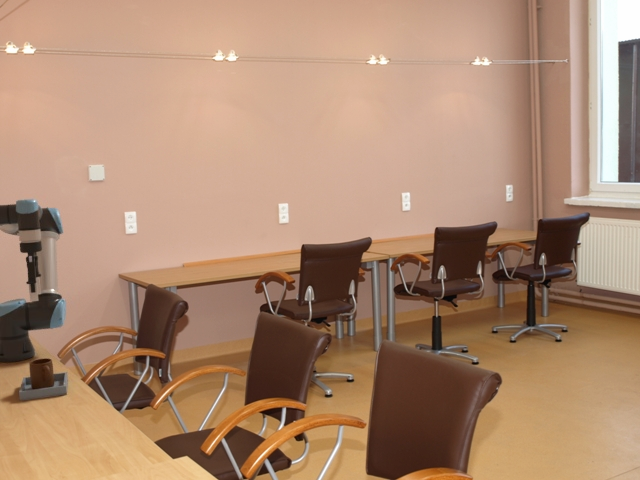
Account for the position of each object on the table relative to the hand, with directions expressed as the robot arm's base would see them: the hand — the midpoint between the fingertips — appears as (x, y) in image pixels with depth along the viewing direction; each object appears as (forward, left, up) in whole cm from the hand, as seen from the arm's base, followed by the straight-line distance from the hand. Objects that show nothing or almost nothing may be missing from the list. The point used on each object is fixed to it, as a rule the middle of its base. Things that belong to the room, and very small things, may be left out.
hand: (35, 297), depth 267 cm
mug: (+24, +2, -28) cm, 37 cm away
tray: (+23, +2, -29) cm, 37 cm away
